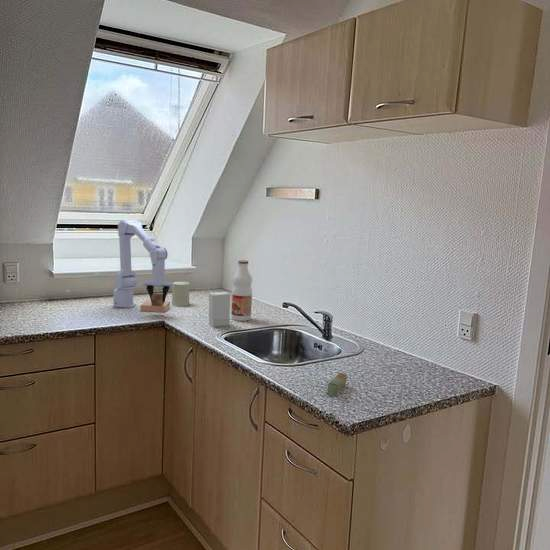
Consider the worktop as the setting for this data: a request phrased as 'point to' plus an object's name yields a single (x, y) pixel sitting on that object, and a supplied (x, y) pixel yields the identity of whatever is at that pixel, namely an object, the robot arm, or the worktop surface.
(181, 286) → the can
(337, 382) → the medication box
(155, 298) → the walnut cube
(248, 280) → the fruit juice
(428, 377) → the worktop surface
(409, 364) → the worktop surface
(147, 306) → the tan rectangular block
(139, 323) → the worktop surface
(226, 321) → the skincare box
